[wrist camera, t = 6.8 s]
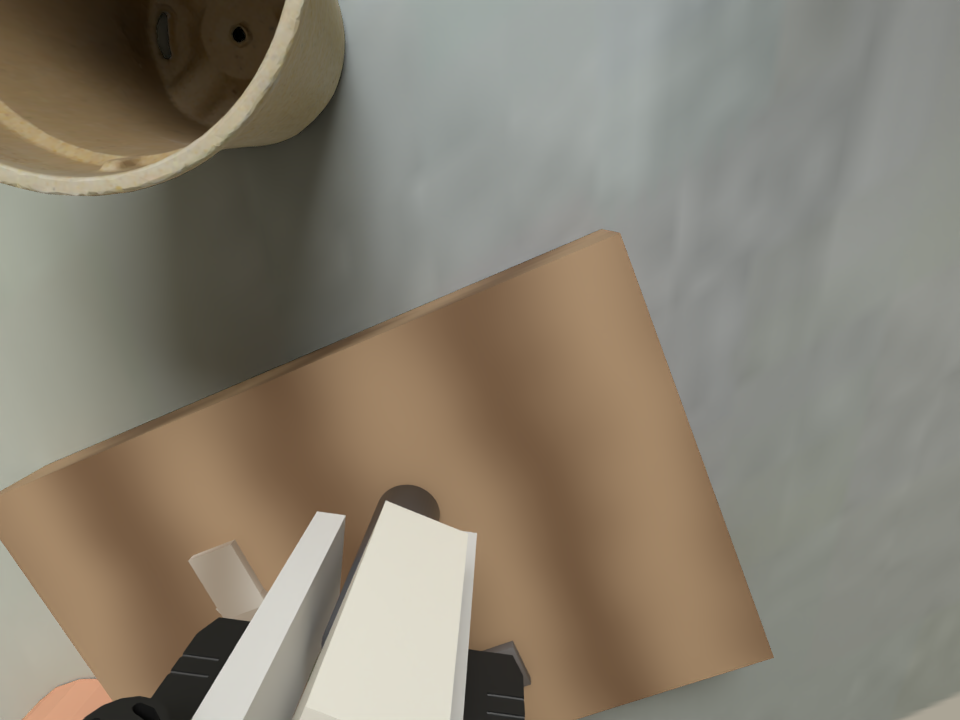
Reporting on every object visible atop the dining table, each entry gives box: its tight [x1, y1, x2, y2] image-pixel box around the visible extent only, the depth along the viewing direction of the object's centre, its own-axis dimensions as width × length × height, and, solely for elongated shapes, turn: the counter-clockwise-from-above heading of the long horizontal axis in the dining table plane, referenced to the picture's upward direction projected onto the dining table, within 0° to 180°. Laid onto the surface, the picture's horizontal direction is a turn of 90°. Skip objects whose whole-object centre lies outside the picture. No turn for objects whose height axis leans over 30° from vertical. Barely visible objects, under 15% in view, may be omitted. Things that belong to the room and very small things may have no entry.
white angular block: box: [292, 485, 468, 720], centre depth 13 cm, size 11×2×11 cm, turn 157°
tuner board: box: [0, 229, 774, 720], centre depth 20 cm, size 22×15×3 cm
